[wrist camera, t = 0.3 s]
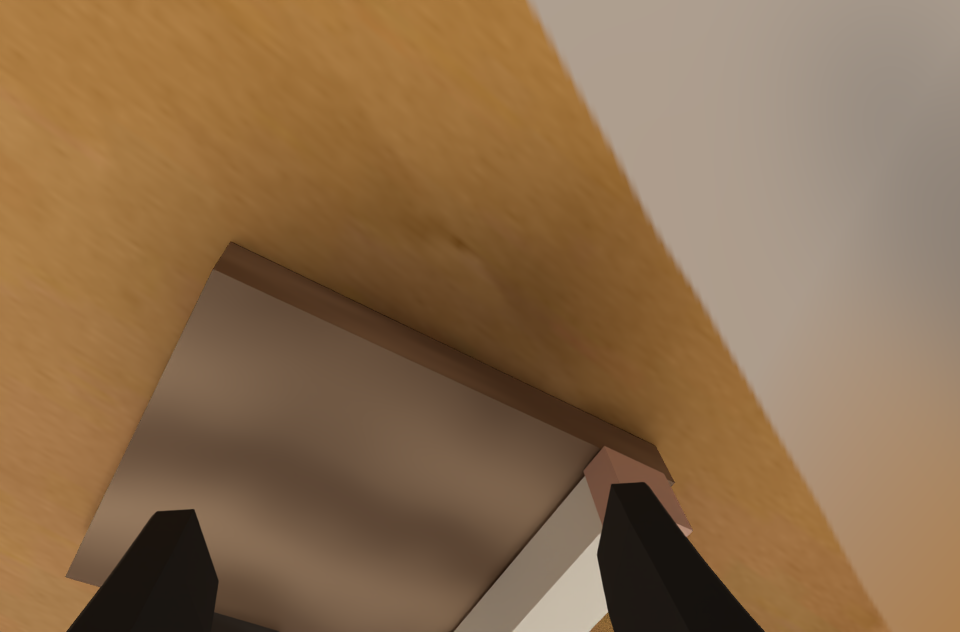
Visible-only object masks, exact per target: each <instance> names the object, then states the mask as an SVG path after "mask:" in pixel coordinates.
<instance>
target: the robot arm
mask: <svg viewBox="0 0 960 632" xmlns="http://www.w3.org/2000/svg"><path fill="white" fill-rule="evenodd" d="M597 559H598V564H599V569H600V574H601V579H602V585H603V590H604V594H605V599H606V604H607V609H608V613H609V616H610V619H611V623H612V626H613V629H614V632H765V631H764V630H763V629H762V628H761V627H760V626H759V625H758V624H757V622H756V621H755V620H754V619H753V618H752V617H751V616H750V615H749V613H748V612H747V611H746V610H745V609H744V608H743V606H742V605H741V604H740V603H739V602H738V601H737V599H736V598H735V597H734V596H733V595H732V594H731V592H730V591H729V590H728V589H727V587H726V586H725V585H724V584H723V583H722V581H721V580H720V579H719V578H718V576H717V575H716V574H715V573H714V572H713V570H712V569H711V568H710V567H709V566H708V564H707V563H706V562H705V561H704V559H703V558H702V557H701V555H700V554H699V553H698V552H697V550H696V549H695V548H694V546H693V545H692V544H691V543H690V541H689V540H688V539H687V537H686V536H685V535H684V533H683V532H682V531H681V529H680V528H679V527H678V525H677V524H676V523H675V521H674V520H673V519H672V517H671V516H670V515H669V513H668V512H667V510H666V509H665V508H664V506H663V505H662V503H661V502H660V501H659V499H658V498H657V497H656V495H655V494H654V492H653V491H652V489H651V488H650V487H649V486H648V485H647V484H646V483H645V482H634V483H618V484H611V487H610V492H609V497H608V502H607V507H606V512H605V517H604V521H603V526H602V531H601V536H600V541H599V546H598V551H597ZM218 583H219V580H218V577H217V574H216V571H215V568H214V565H213V562H212V560H211V557H210V554H209V551H208V548H207V545H206V542H205V539H204V536H203V533H202V530H201V527H200V524H199V521H198V518H197V515H196V512H195V509H185V510H168V511H157V512H156V513H154V514H153V515H152V516H151V518H150V519H149V521H148V522H147V523H146V525H145V526H144V528H143V529H142V530H141V532H140V533H139V535H138V536H137V538H136V539H135V540H134V542H133V543H132V545H131V546H130V547H129V549H128V550H127V552H126V553H125V554H124V556H123V557H122V559H121V560H120V561H119V563H118V564H117V566H116V567H115V568H114V570H113V571H112V572H111V574H110V575H109V576H108V578H107V579H106V580H105V582H104V583H103V585H102V586H101V587H100V589H99V590H98V591H97V593H96V594H95V595H94V597H93V598H92V599H91V600H90V602H89V603H88V604H87V606H86V607H85V608H84V610H83V611H82V612H81V613H80V615H79V616H78V617H77V619H76V620H75V621H74V622H73V624H72V625H71V626H70V628H69V629H68V630H67V632H211V628H212V622H213V616H214V609H215V603H216V596H217V590H218Z"/></svg>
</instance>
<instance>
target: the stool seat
mask: <svg viewBox="0 0 960 632" xmlns="http://www.w3.org/2000/svg"><path fill="white" fill-rule="evenodd" d="M604 446H606V447H608V448H610V449H612V450H614V451H616V452H619V453H621V454H623V455H625V456H627V457H629V458H631V459H634V460H636V461H638V462H640V463H642V464H644V465H646V466H649V467H651V468H653V469H655V470H657V471H659V472H662V473H664V475H665V477H666V479H667V480H668V482H669V484H670V486H672V485H673V484H674V483H675V482H674V480H673V479H672V477H671V475H670V473H669V471H668V469H667V467H666V465H665V463H664V461H663V459H662V457H661V455H660V453H659V452H658V450H657V448H656V446H654V445H652V444H650V443H648V442H646V441H644V440H642V439H640V438H638V437H636V436H634V435H631V434H629V433H627V432H625V431H623V430H621V429H619V428H617V427H615V426H613V425H611V424H609V423H606V422H604V421H602V420H600V419H598V418H596V417H594V416H592V415H590V414H588V413H586V412H584V411H582V410H579V409H577V408H575V407H573V406H571V405H569V404H567V403H565V402H563V401H561V400H559V399H557V398H554V397H552V396H550V395H548V394H546V393H544V392H542V391H540V390H538V389H536V388H534V387H532V386H530V385H527V384H525V383H523V382H521V381H519V380H517V379H515V378H513V377H511V376H509V375H507V374H505V373H502V372H500V371H498V370H496V369H494V368H492V367H490V366H488V365H486V364H484V363H482V362H480V361H478V360H475V359H473V358H471V357H469V356H467V355H465V354H463V353H461V352H459V351H457V350H455V349H453V348H450V347H448V346H446V345H444V344H442V343H440V342H438V341H436V340H434V339H432V338H430V337H428V336H426V335H423V334H421V333H419V332H417V331H415V330H413V329H411V328H409V327H407V326H405V325H403V324H401V323H398V322H396V321H394V320H392V319H390V318H388V317H386V316H384V315H382V314H380V313H378V312H376V311H374V310H371V309H369V308H367V307H365V306H363V305H361V304H359V303H357V302H355V301H353V300H351V299H349V298H346V297H344V296H342V295H340V294H338V293H336V292H334V291H332V290H330V289H328V288H326V287H324V286H322V285H319V284H317V283H315V282H313V281H311V280H309V279H307V278H305V277H303V276H301V275H299V274H297V273H294V272H292V271H290V270H288V269H286V268H284V267H282V266H280V265H278V264H276V263H274V262H272V261H269V260H267V259H265V258H263V257H261V256H259V255H257V254H255V253H253V252H251V251H249V250H247V249H245V248H242V247H240V246H238V245H236V244H234V243H232V242H230V243H229V245H228V246H227V248H226V250H225V251H224V253H223V254H222V256H221V257H220V259H219V260H218V262H217V264H216V265H215V267H214V268H213V270H212V272H211V274H210V276H209V278H208V280H207V283H206V285H205V287H204V289H203V291H202V293H201V295H200V297H199V299H198V301H197V303H196V305H195V308H194V310H193V312H192V314H191V316H190V318H189V320H188V322H187V324H186V326H185V328H184V331H183V333H182V335H181V337H180V339H179V341H178V343H177V345H176V347H175V349H174V351H173V353H172V356H171V358H170V360H169V362H168V364H167V366H166V368H165V370H164V372H163V374H162V376H161V378H160V381H159V383H158V385H157V387H156V389H155V391H154V393H153V395H152V397H151V399H150V401H149V403H148V406H147V408H146V410H145V412H144V414H143V416H142V418H141V420H140V422H139V424H138V426H137V429H136V431H135V433H134V435H133V437H132V439H131V441H130V443H129V445H128V447H127V449H126V451H125V454H124V456H123V458H122V460H121V462H120V464H119V466H118V468H117V470H116V472H115V474H114V476H113V479H112V481H111V483H110V485H109V487H108V489H107V491H106V493H105V495H104V497H103V499H102V501H101V504H100V506H99V508H98V510H97V512H96V514H95V516H94V518H93V520H92V522H91V524H90V527H89V529H88V531H87V533H86V535H85V537H84V539H83V541H82V543H81V545H80V547H79V549H78V552H77V554H76V556H75V558H74V560H73V562H72V564H71V566H70V568H69V570H68V572H67V574H66V577H67V578H70V579H74V580H77V581H81V582H84V583H88V584H91V585H94V586H98V587H101V586H102V585H103V583H104V582H105V580H106V579H107V578H108V576H109V575H110V574H111V572H112V571H113V570H114V568H115V567H116V566H117V564H118V563H119V561H120V560H121V559H122V557H123V556H124V554H125V553H126V552H127V550H128V549H129V547H130V546H131V545H132V543H133V542H134V540H135V539H136V538H137V536H138V535H139V533H140V532H141V530H142V529H143V528H144V526H145V525H146V523H147V522H148V521H149V519H150V518H151V516H152V515H153V514H154V513H156V512H157V511H168V510H185V509H195V512H196V515H197V518H198V521H199V524H200V527H201V530H202V533H203V536H204V539H205V542H206V545H207V548H208V551H209V554H210V557H211V560H212V562H213V565H214V568H215V571H216V574H217V577H218V580H219V583H218V590H217V596H216V603H215V609H214V616H213V622H212V628H211V632H454V631H455V630H456V628H457V627H458V626H459V625H460V624H461V622H462V621H463V620H464V619H465V618H466V617H467V615H468V614H469V613H470V612H471V611H472V609H473V608H474V607H475V606H476V605H477V603H478V602H479V601H480V600H481V599H482V598H483V596H484V595H485V594H486V593H487V592H488V590H489V589H490V588H491V587H492V586H493V584H494V583H495V582H496V581H497V580H498V579H499V577H500V576H501V575H502V574H503V573H504V571H505V570H506V569H507V568H508V567H509V565H510V564H511V563H512V562H513V561H514V560H515V558H516V557H517V556H518V555H519V554H520V552H521V551H522V550H523V549H524V548H525V546H526V545H527V544H528V543H529V542H530V541H531V539H532V538H533V537H534V536H535V535H536V533H537V532H538V531H539V530H540V529H541V527H542V526H543V525H544V524H545V523H546V522H547V520H548V519H549V518H550V517H551V516H552V514H553V513H554V512H555V511H556V510H557V508H558V507H559V506H560V505H561V504H562V502H563V501H564V500H565V499H566V498H567V497H568V495H569V494H570V493H571V492H572V491H573V489H574V488H575V487H576V486H577V485H578V483H579V482H580V481H581V480H582V479H583V478H584V476H585V475H584V472H583V471H584V470H585V468H586V467H587V466H588V465H589V464H590V462H591V461H592V460H593V459H594V458H595V457H596V455H597V454H598V453H599V452H600V451H601V449H602V448H603V447H604Z"/></svg>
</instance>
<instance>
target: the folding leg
mask: <svg viewBox="0 0 960 632" xmlns="http://www.w3.org/2000/svg"><path fill="white" fill-rule="evenodd" d="M583 472H584V475H585V476H584V478H583V479H582V480H581V481H580V482H579V483H578V485H577V486H576V487H575V488H574V489H573V491H572V492H571V493H570V494H569V495H568V497H567V498H566V499H565V500H564V501H563V502H562V504H561V505H560V506H559V507H558V508H557V510H556V511H555V512H554V513H553V514H552V516H551V517H550V518H549V519H548V520H547V522H546V523H545V524H544V525H543V526H542V527H541V529H540V530H539V531H538V532H537V533H536V535H535V536H534V537H533V538H532V539H531V541H530V542H529V543H528V544H527V545H526V546H525V548H524V549H523V550H522V551H521V552H520V554H519V555H518V556H517V557H516V558H515V560H514V561H513V562H512V563H511V564H510V565H509V567H508V568H507V569H506V570H505V571H504V573H503V574H502V575H501V576H500V577H499V579H498V580H497V581H496V582H495V583H494V584H493V586H492V587H491V588H490V589H489V590H488V592H487V593H486V594H485V595H484V596H483V598H482V599H481V600H480V601H479V602H478V603H477V605H476V606H475V607H474V608H473V609H472V611H471V612H470V613H469V614H468V615H467V617H466V618H465V619H464V620H463V621H462V622H461V624H460V625H459V626H458V627H457V628H456V630H455V631H454V632H589V631H590V630H591V629H592V628H593V627H594V626H595V625H596V624H597V623H598V622H599V621H600V620H601V619H602V618H603V616H604V615H605V614H606V613H607V612H608V609H607V604H606V599H605V594H604V590H603V585H602V579H601V574H600V569H599V564H598V559H597V551H598V546H599V541H600V536H601V531H602V526H603V521H604V517H605V512H606V507H607V502H608V497H609V492H610V487H611V484H618V483H634V482H645V483H646V484H647V485H648V486H649V487H650V488H651V489H652V491H653V492H654V494H655V495H656V497H657V498H658V499H659V501H660V502H661V503H662V505H663V506H664V508H665V509H666V510H667V512H668V513H669V515H670V516H671V517H672V519H673V520H674V521H675V523H676V524H677V525H678V527H679V528H680V529H681V531H682V532H683V533H684V535H685V536H686V537H687V536H688V535H689V534H690V533H691V532H692V531H693V530H692V528H691V526H690V524H689V522H688V520H687V518H686V516H685V514H684V512H683V510H682V508H681V506H680V504H679V502H678V500H677V498H676V496H675V494H674V492H673V490H672V488H671V486H670V484H669V482H668V480H667V479H666V477H665V475H664V473H662V472H659V471H657V470H655V469H653V468H651V467H649V466H646V465H644V464H642V463H640V462H638V461H636V460H634V459H631V458H629V457H627V456H625V455H623V454H621V453H619V452H616V451H614V450H612V449H610V448H608V447H606V446H604V447H603V448H602V449H601V451H600V452H599V453H598V454H597V455H596V457H595V458H594V459H593V460H592V461H591V462H590V464H589V465H588V466H587V467H586V468H585V470H584V471H583Z"/></svg>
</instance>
